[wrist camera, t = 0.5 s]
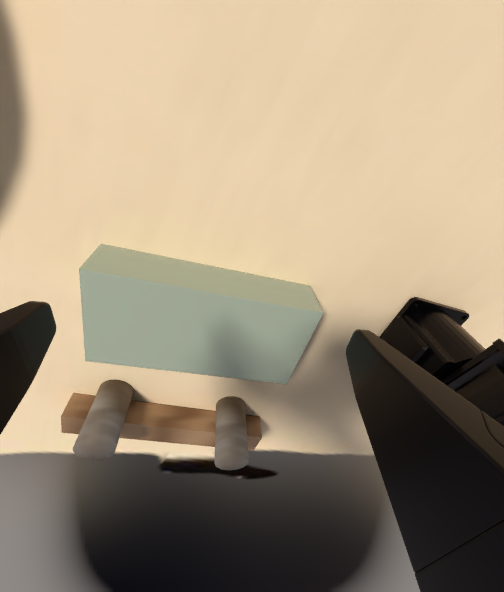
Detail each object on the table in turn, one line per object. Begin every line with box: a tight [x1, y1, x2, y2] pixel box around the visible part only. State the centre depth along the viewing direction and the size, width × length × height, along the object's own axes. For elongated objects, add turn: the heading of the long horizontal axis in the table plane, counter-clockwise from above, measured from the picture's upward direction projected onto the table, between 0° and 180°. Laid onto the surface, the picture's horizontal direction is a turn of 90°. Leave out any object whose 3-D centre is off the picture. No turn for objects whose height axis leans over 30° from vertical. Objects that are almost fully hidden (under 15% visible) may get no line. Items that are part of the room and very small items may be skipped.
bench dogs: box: [61, 380, 262, 470], centre depth 28 cm, size 20×6×6 cm, turn 71°
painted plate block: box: [79, 244, 323, 384], centre depth 22 cm, size 16×8×4 cm, turn 74°
